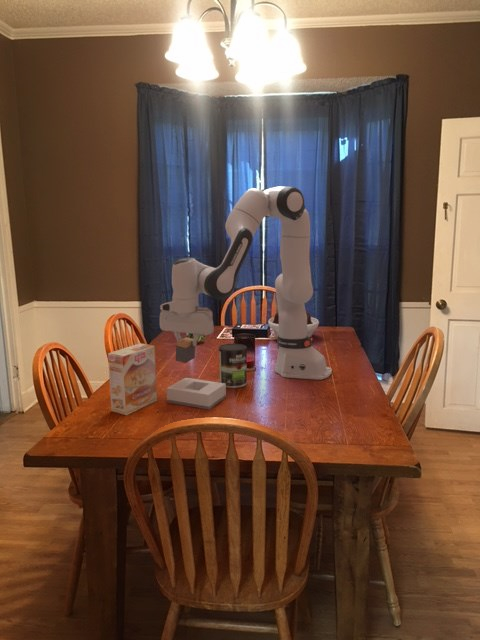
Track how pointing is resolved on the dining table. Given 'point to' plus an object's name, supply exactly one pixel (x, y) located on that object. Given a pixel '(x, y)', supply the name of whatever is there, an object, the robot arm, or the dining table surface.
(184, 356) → the plug
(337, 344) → the dining table surface
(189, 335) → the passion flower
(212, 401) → the socket
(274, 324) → the white round bowl
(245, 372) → the coffee can
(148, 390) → the coffeecake box
